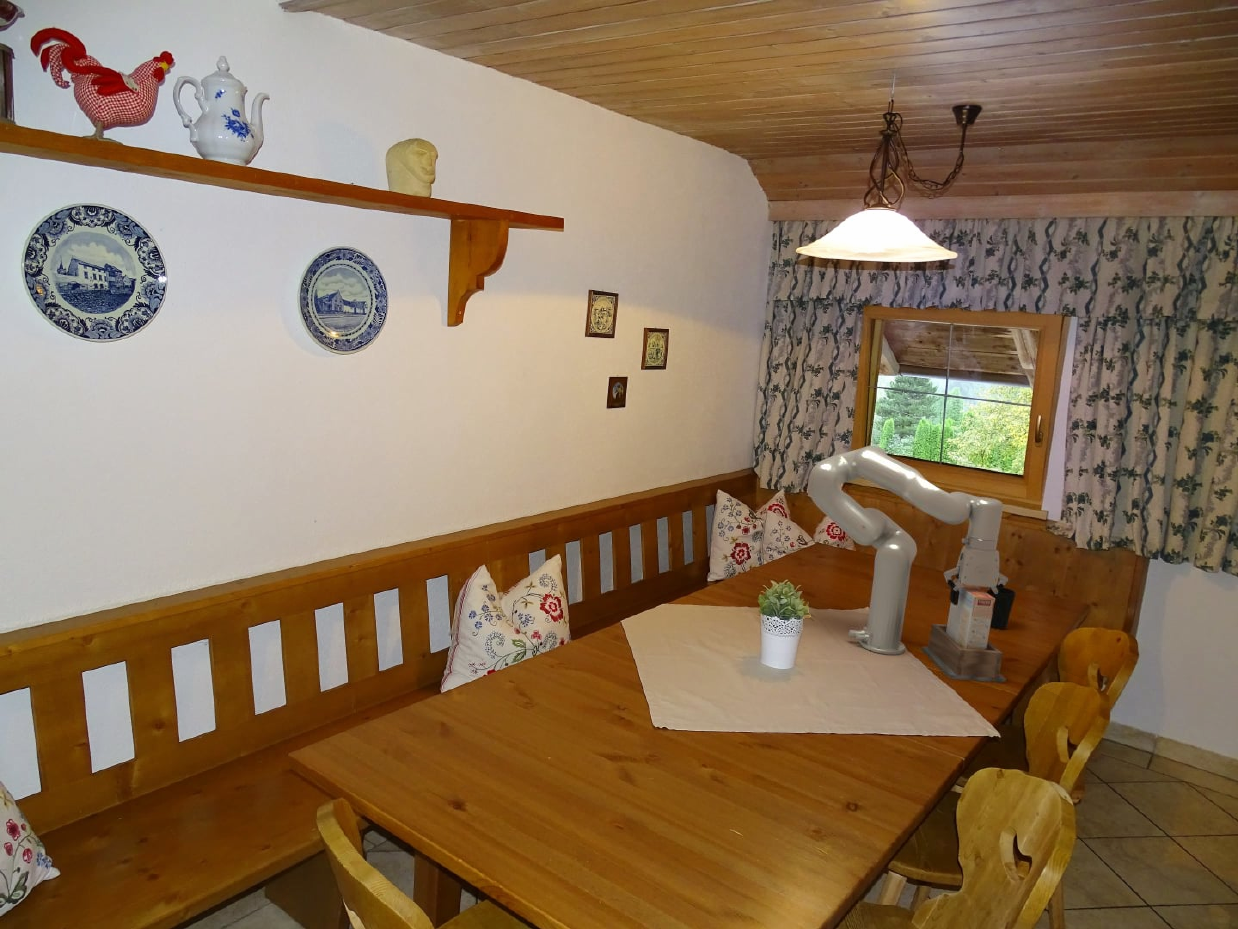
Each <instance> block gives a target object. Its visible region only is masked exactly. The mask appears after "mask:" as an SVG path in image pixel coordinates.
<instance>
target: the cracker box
mask: <svg viewBox="0 0 1238 929" xmlns="http://www.w3.org/2000/svg"><path fill="white" fill-rule="evenodd" d="M958 591H959V599H958V604H957V605H954V604H953V603H951V602H950V607H949V613H948V617H947V619H948V620H947V624H946V625H947V629H946V633H947V634H948V635H949V636H950V637H951V638H952V639H953V640H954V641H955V642H956V643H957V644H959V645H960V646H961V647H962V648H963V649H976V650H986V647H987V641H989V640H988V639H989V635H990V629H991V628H990V624H991V618H992V613H993V607H994V602H995V598H993V597H992V596H991V595H989V594H988V593H987V591H986V590H984V589H983V588H982V587H974V586H965V585H962V586H961V587H960V588H959V589H958Z"/></svg>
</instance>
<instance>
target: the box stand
mask: <svg viewBox="0 0 1238 929" xmlns="http://www.w3.org/2000/svg"><path fill="white" fill-rule="evenodd" d="M946 629H947V624H939V623H931V628H930V634H929V641H928V646H924V645H922V646H921V649H920V650H921V651H922V652H923V653H924V654H925V655H926V656H927V657H928V658H929V659H930V661H932V663H934V664H935V665H936V666H937V667H938V668H939V669H940V671H941V672H942V673H943V674H944V675H945V676H946V677H947V678H948V679H949V680H961V681H962V680H963V681H976V682H991V681H993V682H991V683H1003V682H1005V683H1006V678H1005V677H1004V676H1003V675H1002V674H1000V672H1001V666H1002V660H1003V655H1004V654H1003V652H1002V650H1000V649H999V648H998V647H996V645H994V644H993V643H992V642H990V641H989V640H988V641H987V647H986V650H976V649H963V648H962V647H961V646H960V645H959V644H957V643H956V642H955V641H954V640H953V639H952V638H951V637H950V636H949V635H948V634H947V633H946Z"/></svg>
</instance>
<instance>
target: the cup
mask: <svg viewBox="0 0 1238 929" xmlns="http://www.w3.org/2000/svg"><path fill="white" fill-rule="evenodd" d="M1016 595H1017V594H1016V591H1014V590H1013V589H1011V588H1007V587H1003V588H1002V589H1001V590H1000V591H998V593H997V594H996V597H995V602H994V607H993V613H992V618H991V624H990V627H991V628H990V629H993V628H994V629H993V630H996V629H999V630H998V631H1005V630H1007V626H1008V623H1009V619H1010V616H1011V613H1012V612H1011V611H1012V608H1013V604H1014V601H1015V598H1016ZM1004 629H1005V630H1004Z"/></svg>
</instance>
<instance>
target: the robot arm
mask: <svg viewBox="0 0 1238 929" xmlns="http://www.w3.org/2000/svg"><path fill="white" fill-rule="evenodd" d="M860 479H865V480H867V481H869V482H870V483H873V484H875V485H877V486H879V487H881V488H883V489H885V490H887V491H889V492H890V493H893V494H895V495H897V496H899V497H900V498H901V499H903V500H904V501H906V502H908V503H909V504H911V505H912V506H914V507H916V508H917V509H919V510H920V511H922V512H924V513H925V514H928V515H930V516H931V517H933V518H936V519H937V520H940V521H941V522H944V523H946V524H949V525H959V524H962V523H964V522H965V521H967V520H968V521H969V524H968V530H967V535H966V537H962V538H961V543H962V544H964V546H962V549H961V551H960V554H959V557H958V560H957V564H956V567H954V568H952V569H951V568H950V569H949V570H946V571H944V572H943V576H944V578H945V583H946V584H947V585H948V586H949V588H950V593H949V600H950V604H951V603H953V604H954V605H957V604H958V599H959V591H958V589H959V588H960V587H961V586H962V585H965V586H974V587H980V588H987V589H988V590H987V591H986V592H987V593H988V594H989V595H991V596H992V597H993V598H995V597H996V594H997V593H998V591H1000V590H1001V589H1002V588H1005V585H1006V584H1007V582H1008V581H1009V578H1008V577H1007V576H1005V575H1004V574H1002V573H1000V552H999V550H997V546H998V541H999V535H1000V534H999V533H1000V527H1001V523H1002V516H1003V510H1004V509H1003V508H1004V505H1003V504H1004V503H1003V502H1002V501H1000V500H998V499H996V498H993V497H991V498H990V497H986V496H985V497H983V496H981V497H980V496H975V495H973V494H969V493H967V492H966V493H965V492H962V491H952V492H950V493H949V492H948V491H945V490H943V489H941V488H939V487H937V486H935V485H934V484H933V483H931V482H929V480H927V479H926V478H925V477H924V476H923V475H922V474H921V473H920V472H919V470H917V469H916V468H915V467H912V466H910V465H907V464H906V463H903V462H901V461H899V460H897V459H896V458H893V457H891V456H889V455H888V454H887V452H886V451H885V449H883V448H882V447H880V446H877V445H867V446H864V447H861V448H858V449H855V450H851V451H850V450H849V451H848V452H843V453H839V454H836V455H832V456H829V457H827V458H825V459H823V460H821V461H818V462H817V463H816V464H815V465H814V466H813V468H812V469H811V471H810V474H809V477H808V484H807V485H808V486H807V487H808V492H809V495H810V498H811V500H812V502H813V503H814V504H815V505H816V507H817V508H818V509H819V510H820V511H821V512H822V513H823V514H825V516H827V517H828V518H829V519H830V520H831V521H832V522H833V523H834V524H835V525H837V526H838V527H839V528H840V529H841V530H842V531H843V532H844V533H846V535H848V536H849V537H850V538H851V539H852V541H854V542H855V543H857V544H858V545H860V546H865V547H866V546H872V547H873V548H874V549H876V550H877V551H876V554H875V558H874V569H873V570H874V572H873V580H872V588H871V596H870V603H869V610H868V617H867V625H866V626H863V628H862V629H860V630H856V629H849V630H848V636H849V637H851V638H854V637H855V639H856V640H859V641H858V644H859V645H860V646H861V647H863V648H864V649H866V650H868V651H870V650H871V652H874V653H878V654H881V655H889V656H890V655H891V656H892V655H893V656H894V655H896V656H897V655H900V654H903V653H905V651H906V646H905V644H904V643H903V642H901V640H902V632H903V626H904V618H905V611H906V605H907V601H908V600H907V598H908V592H909V585H910V584H909V583H910V577H911V576H910V574H911V568H912V564H913V562H914V560H915V558H916V556H917V553H918V548H917V543H916V541H915V539H914V538H913V537H912V536H911V535H910V534H909V533H908V532H907V531H905V530H904V529H903V528H902V527H901V526H899V525H898V524H897V523H896V522H895V521H893V519H892V518H890V517H889V516H888V515H887V514H885V512H883V511H881V510H880V509H877V508H875V507H865V508H864V507H863V506H862V505H860V503H858V502H857V501H856V500H855V499H854V498H853V497H852V496H850V495H849V494H847V493H846V492H845V491H843V490H842V489H841V487H840V485H842V484H845V483H848V482H849V483H850V482H852V481H856V480H860ZM952 576H955V577H954V580H952Z"/></svg>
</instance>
